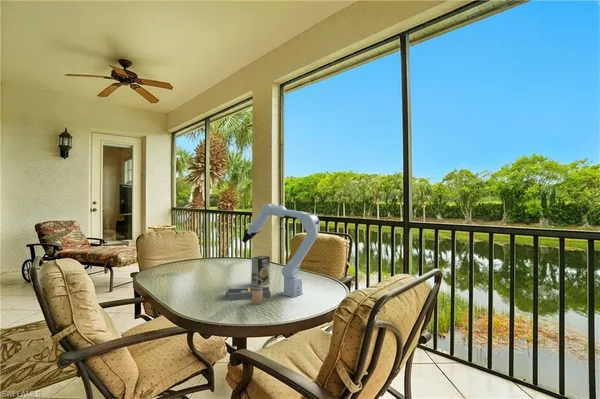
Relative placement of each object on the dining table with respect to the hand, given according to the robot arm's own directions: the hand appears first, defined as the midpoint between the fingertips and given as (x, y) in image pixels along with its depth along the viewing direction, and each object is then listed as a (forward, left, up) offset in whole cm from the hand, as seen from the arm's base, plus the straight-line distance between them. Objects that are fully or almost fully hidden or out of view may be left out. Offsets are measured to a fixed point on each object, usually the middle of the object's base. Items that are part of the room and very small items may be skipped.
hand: (246, 239), depth 168 cm
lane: (-13, +9, -27) cm, 31 cm away
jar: (-25, +12, -27) cm, 38 cm away
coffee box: (-3, -9, -27) cm, 28 cm away
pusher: (-13, +10, -25) cm, 30 cm away
